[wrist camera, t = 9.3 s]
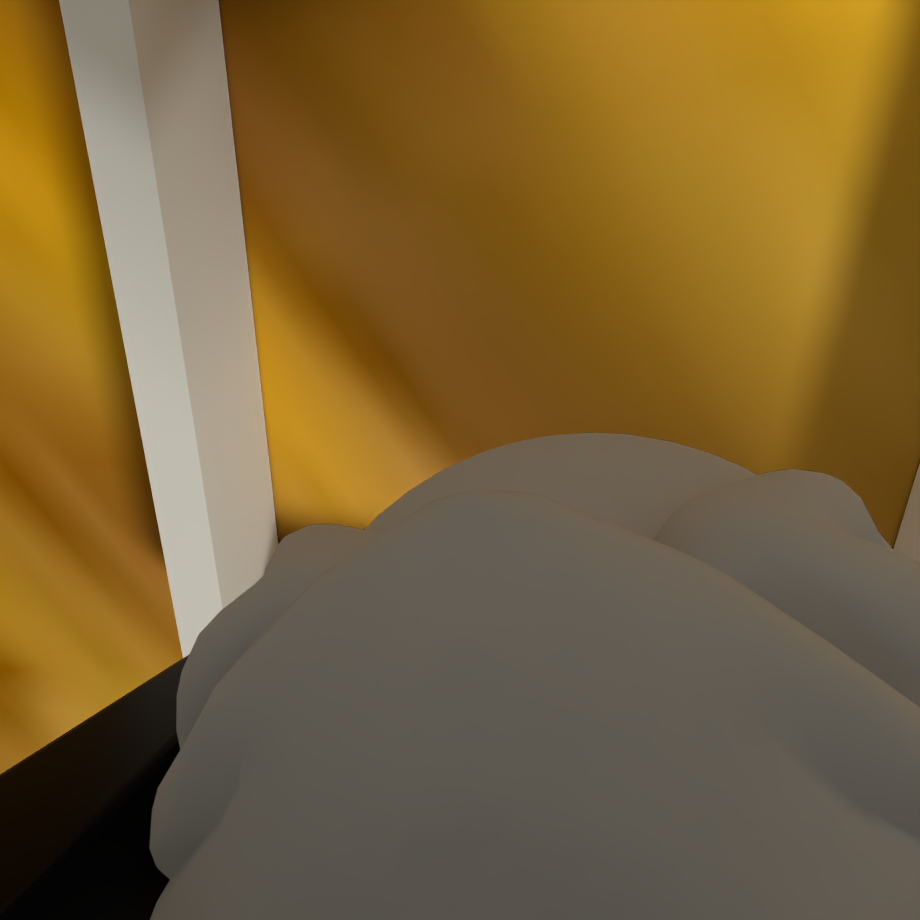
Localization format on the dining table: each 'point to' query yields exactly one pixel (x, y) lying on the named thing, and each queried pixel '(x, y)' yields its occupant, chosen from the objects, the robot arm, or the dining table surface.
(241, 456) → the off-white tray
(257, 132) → the dining table surface
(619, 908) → the grey rounded lumpy piece
